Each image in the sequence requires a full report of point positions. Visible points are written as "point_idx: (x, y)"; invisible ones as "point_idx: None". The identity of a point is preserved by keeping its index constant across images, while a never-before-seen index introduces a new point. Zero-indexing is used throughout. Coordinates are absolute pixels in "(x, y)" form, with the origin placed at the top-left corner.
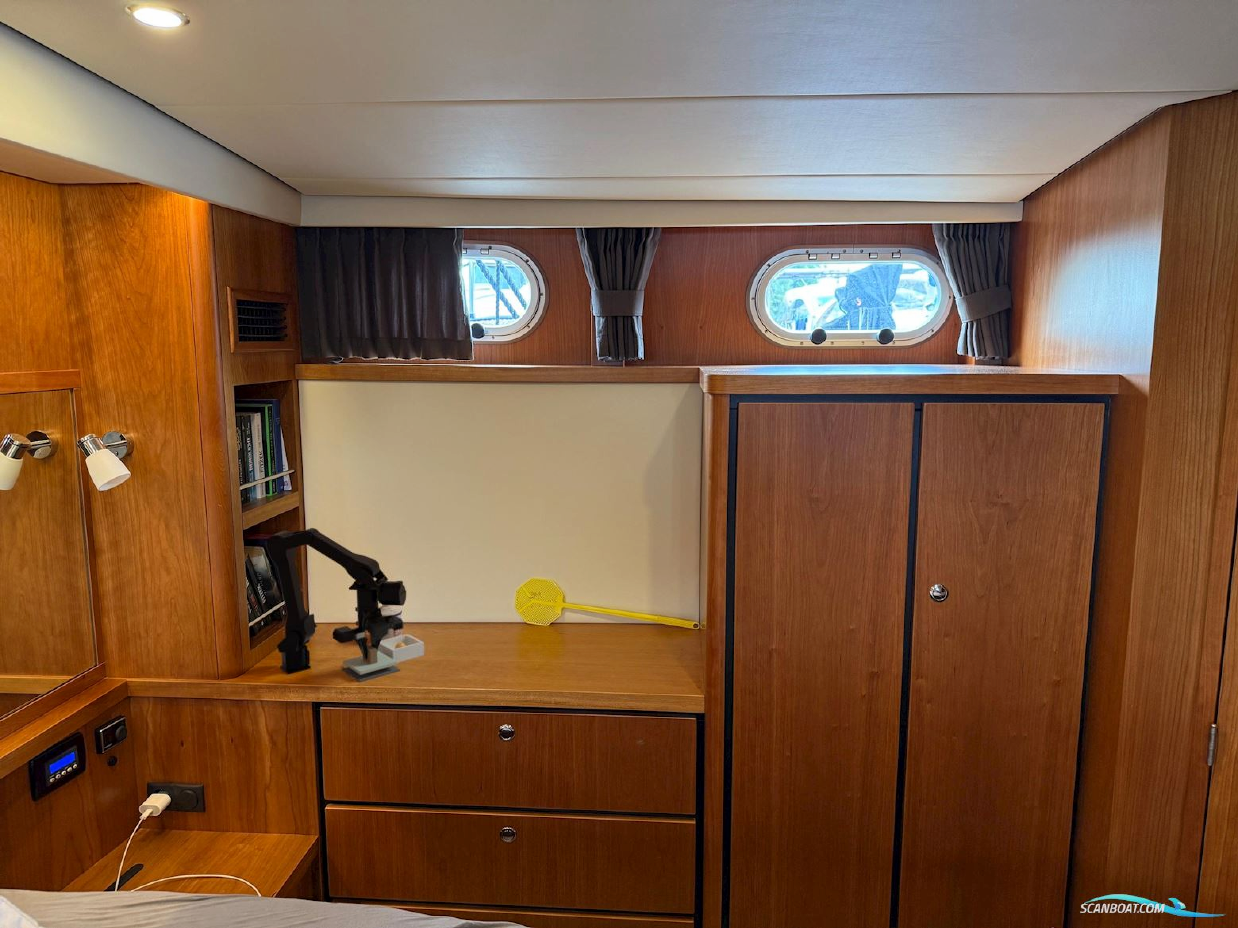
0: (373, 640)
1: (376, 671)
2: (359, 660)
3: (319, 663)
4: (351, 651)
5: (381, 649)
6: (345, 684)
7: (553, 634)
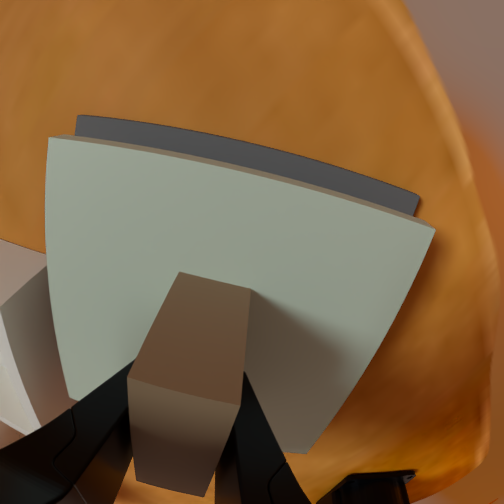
0: (97, 498)
1: None
2: None
3: None
4: None
5: (52, 400)
6: (468, 249)
7: None
